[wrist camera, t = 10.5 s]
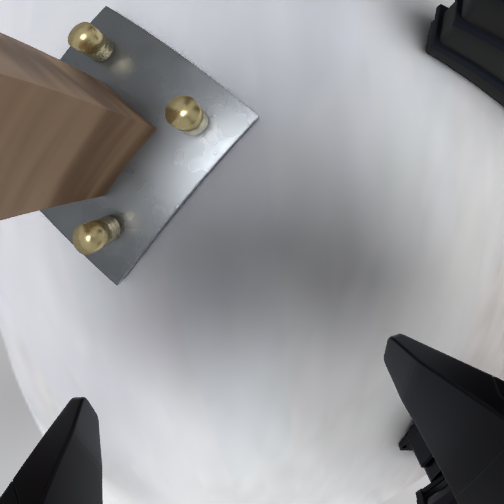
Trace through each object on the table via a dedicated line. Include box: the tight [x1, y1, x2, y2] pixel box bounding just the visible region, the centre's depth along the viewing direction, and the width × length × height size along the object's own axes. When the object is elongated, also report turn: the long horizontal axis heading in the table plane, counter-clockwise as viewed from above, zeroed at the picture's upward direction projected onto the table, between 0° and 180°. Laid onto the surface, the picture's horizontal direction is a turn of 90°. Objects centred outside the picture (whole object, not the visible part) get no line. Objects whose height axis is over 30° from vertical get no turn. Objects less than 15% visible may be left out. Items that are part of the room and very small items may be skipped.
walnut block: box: [0, 33, 156, 220], centre depth 10 cm, size 5×5×13 cm
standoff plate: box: [40, 6, 258, 285], centre depth 16 cm, size 13×13×4 cm
